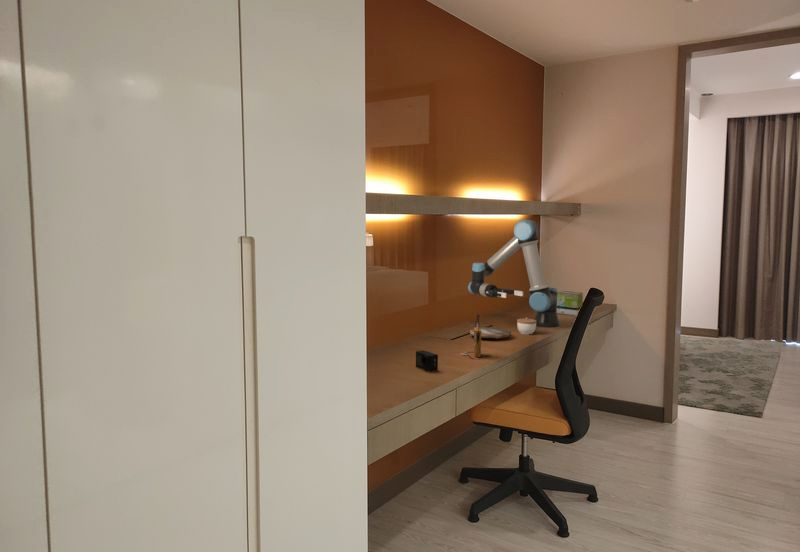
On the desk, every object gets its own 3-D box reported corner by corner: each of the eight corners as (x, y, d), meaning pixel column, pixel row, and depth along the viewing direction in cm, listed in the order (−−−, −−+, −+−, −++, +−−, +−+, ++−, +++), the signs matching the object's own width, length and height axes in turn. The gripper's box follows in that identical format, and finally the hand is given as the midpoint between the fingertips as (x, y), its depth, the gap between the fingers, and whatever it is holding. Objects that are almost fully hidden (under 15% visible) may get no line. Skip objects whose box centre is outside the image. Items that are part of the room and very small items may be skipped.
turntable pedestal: (490, 334, 341) (490, 332, 341) (503, 337, 333) (503, 335, 333) (477, 336, 335) (477, 334, 335) (489, 339, 327) (489, 337, 327)
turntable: (491, 328, 349) (491, 325, 349) (519, 335, 331) (519, 331, 331) (461, 332, 337) (461, 329, 336) (489, 339, 319) (489, 336, 319)
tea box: (555, 313, 414) (556, 291, 412) (560, 311, 422) (561, 290, 420) (577, 315, 405) (578, 293, 404) (582, 313, 413) (583, 292, 412)
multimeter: (458, 352, 299) (458, 311, 297) (478, 352, 298) (479, 311, 296) (460, 359, 284) (460, 316, 282) (481, 359, 284) (482, 317, 282)
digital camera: (413, 366, 270) (413, 351, 269) (423, 365, 273) (423, 349, 273) (427, 372, 262) (427, 356, 261) (437, 370, 265) (437, 354, 264)
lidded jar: (536, 336, 338) (536, 319, 337) (516, 335, 341) (517, 318, 340) (535, 332, 349) (536, 316, 348) (516, 331, 351) (517, 315, 350)
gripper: (503, 295, 375) (529, 299, 358) (473, 298, 361) (498, 302, 344) (503, 283, 374) (529, 286, 357) (473, 285, 360) (498, 289, 343)
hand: (514, 294), depth 350 cm, fingers open, 13 cm apart
